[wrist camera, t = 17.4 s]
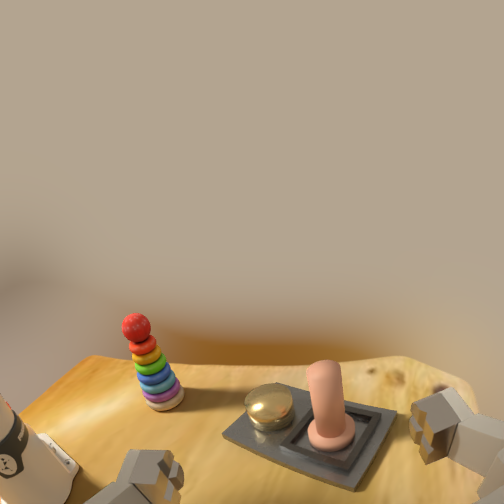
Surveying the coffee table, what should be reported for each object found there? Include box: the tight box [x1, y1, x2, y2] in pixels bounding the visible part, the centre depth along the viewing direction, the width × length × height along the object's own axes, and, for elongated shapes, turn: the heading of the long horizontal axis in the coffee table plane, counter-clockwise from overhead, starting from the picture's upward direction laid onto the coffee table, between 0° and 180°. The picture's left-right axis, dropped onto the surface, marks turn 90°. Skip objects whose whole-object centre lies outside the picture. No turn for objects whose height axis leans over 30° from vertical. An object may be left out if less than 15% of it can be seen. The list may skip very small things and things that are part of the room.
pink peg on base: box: [306, 360, 355, 452], centre depth 35 cm, size 6×6×12 cm
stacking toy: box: [122, 313, 184, 411], centre depth 52 cm, size 8×8×19 cm
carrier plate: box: [222, 382, 397, 492], centre depth 39 cm, size 22×14×5 cm, turn 50°
